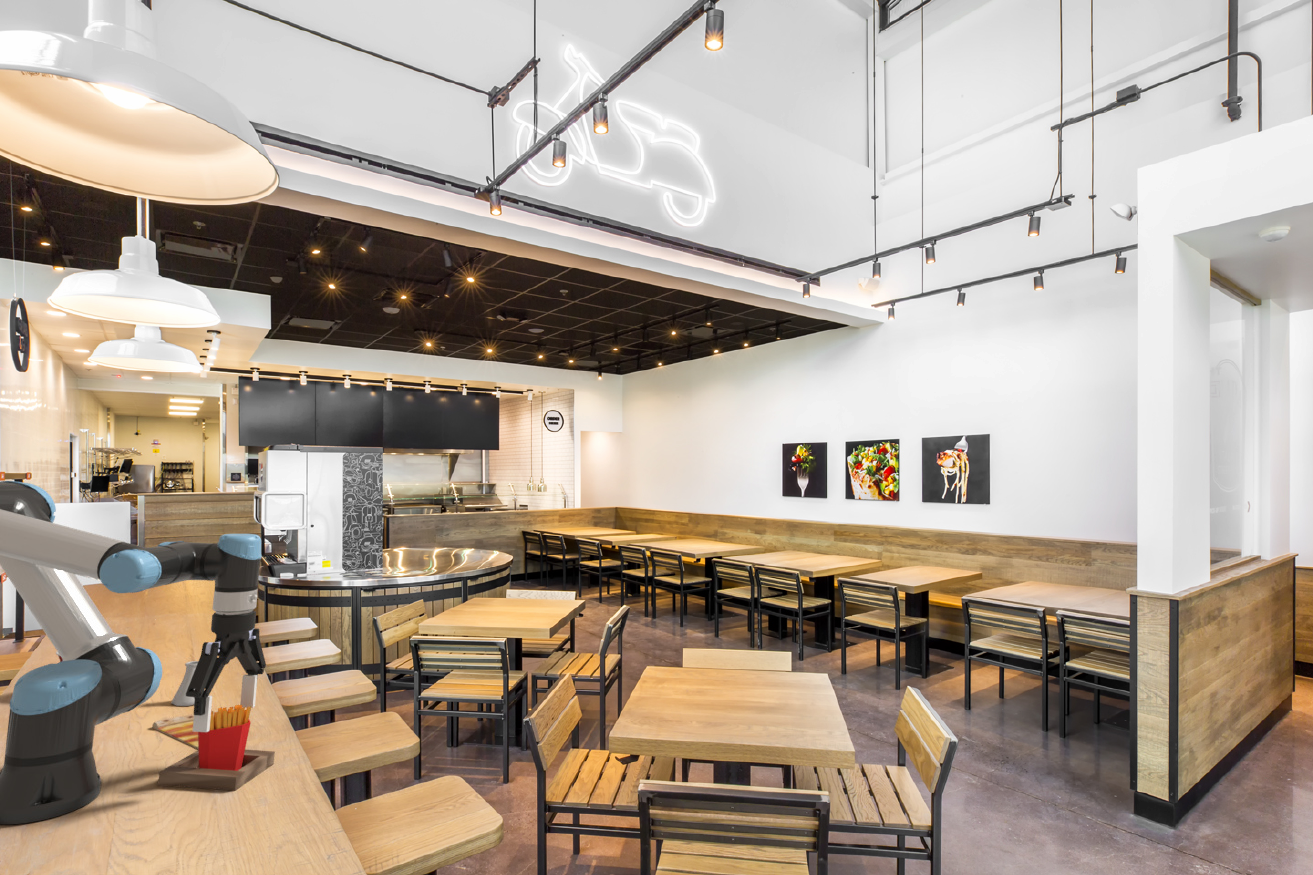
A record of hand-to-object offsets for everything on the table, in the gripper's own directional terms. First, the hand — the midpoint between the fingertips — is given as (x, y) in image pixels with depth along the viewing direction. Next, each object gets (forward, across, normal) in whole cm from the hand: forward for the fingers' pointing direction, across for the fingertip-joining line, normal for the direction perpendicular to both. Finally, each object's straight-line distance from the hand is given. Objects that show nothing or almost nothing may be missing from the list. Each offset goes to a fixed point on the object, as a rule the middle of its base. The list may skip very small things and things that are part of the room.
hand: (225, 718), depth 131 cm
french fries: (+11, 0, 0) cm, 11 cm away
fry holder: (+11, 0, 0) cm, 11 cm away
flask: (+11, +37, +34) cm, 52 cm away
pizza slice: (+11, +18, +21) cm, 30 cm away
